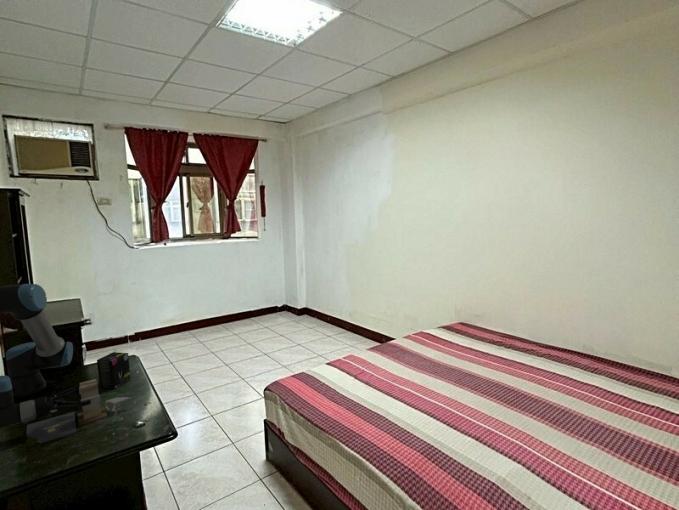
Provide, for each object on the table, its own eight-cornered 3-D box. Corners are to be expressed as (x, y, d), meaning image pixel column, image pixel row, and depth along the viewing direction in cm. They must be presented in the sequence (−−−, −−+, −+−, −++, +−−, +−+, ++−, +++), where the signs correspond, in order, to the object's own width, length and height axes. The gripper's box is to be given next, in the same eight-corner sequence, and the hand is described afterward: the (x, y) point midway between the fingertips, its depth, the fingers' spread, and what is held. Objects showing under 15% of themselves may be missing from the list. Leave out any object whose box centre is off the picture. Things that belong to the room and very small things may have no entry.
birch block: (83, 414, 162) (79, 383, 160) (99, 409, 165) (96, 378, 164) (84, 420, 157) (80, 388, 155) (100, 415, 161) (97, 383, 159)
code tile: (27, 425, 156) (27, 424, 156) (74, 411, 166) (74, 411, 166) (24, 448, 140) (24, 448, 140) (76, 432, 150) (76, 432, 150)
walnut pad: (77, 415, 162) (77, 413, 162) (104, 408, 168) (104, 405, 168) (78, 426, 154) (78, 423, 154) (107, 417, 160) (107, 415, 160)
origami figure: (104, 418, 160) (102, 407, 159) (105, 409, 167) (104, 399, 166) (136, 410, 165) (135, 400, 165) (136, 402, 173) (135, 392, 172)
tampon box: (115, 389, 186) (112, 360, 184) (99, 388, 188) (96, 359, 186) (131, 379, 197) (128, 352, 195) (116, 378, 199) (113, 351, 197)
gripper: (37, 405, 160) (96, 389, 172) (35, 432, 140) (102, 412, 153) (35, 388, 159) (95, 374, 171) (32, 413, 139) (100, 394, 152)
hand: (98, 392), depth 162 cm, fingers open, 13 cm apart
